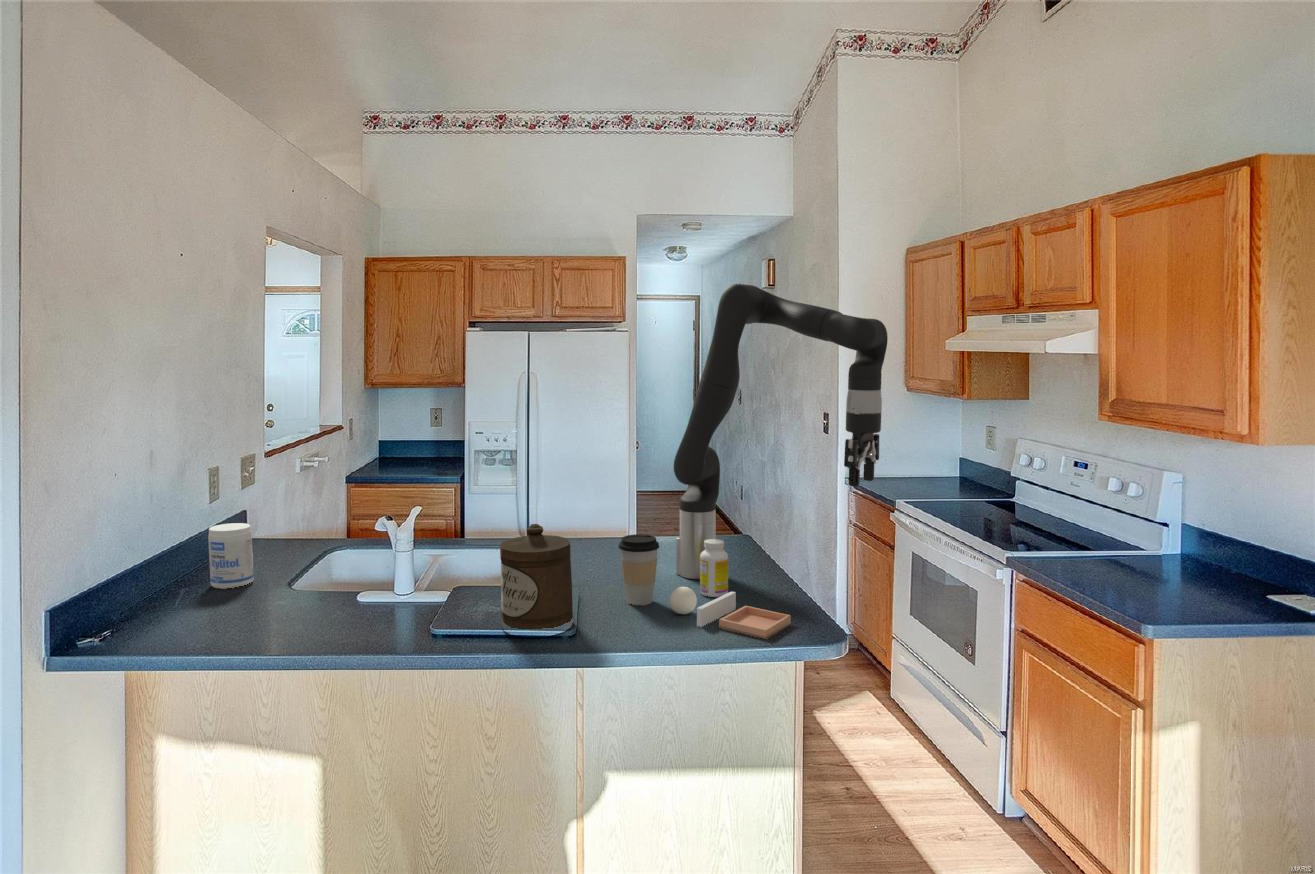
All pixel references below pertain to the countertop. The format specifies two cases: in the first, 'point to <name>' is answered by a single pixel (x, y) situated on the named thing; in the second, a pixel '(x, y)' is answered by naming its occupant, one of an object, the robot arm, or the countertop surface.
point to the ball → (683, 600)
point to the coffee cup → (639, 567)
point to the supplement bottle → (714, 569)
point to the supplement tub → (230, 555)
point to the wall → (716, 608)
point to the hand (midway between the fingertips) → (861, 483)
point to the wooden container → (536, 580)
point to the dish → (755, 622)
